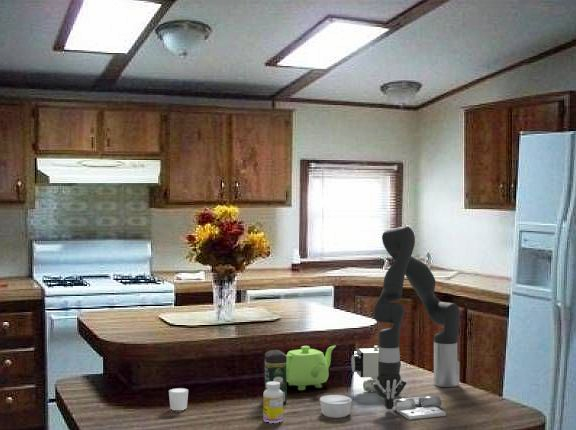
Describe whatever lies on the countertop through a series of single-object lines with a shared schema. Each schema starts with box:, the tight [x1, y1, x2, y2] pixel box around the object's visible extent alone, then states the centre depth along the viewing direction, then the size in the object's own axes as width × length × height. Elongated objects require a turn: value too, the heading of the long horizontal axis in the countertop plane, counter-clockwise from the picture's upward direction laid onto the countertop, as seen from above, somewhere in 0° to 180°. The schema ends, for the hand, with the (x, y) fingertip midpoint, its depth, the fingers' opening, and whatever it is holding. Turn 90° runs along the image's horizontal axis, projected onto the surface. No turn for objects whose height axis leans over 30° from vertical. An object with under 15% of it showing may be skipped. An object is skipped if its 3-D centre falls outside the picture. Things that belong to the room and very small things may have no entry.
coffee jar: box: [264, 349, 288, 404], centre depth 261 cm, size 10×8×19 cm
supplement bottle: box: [262, 381, 284, 424], centre depth 237 cm, size 7×7×13 cm
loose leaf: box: [392, 397, 447, 420], centre depth 246 cm, size 14×12×4 cm
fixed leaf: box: [394, 395, 442, 408], centre depth 255 cm, size 15×12×4 cm
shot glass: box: [168, 387, 189, 410], centre depth 250 cm, size 7×7×7 cm
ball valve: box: [351, 345, 402, 393], centre depth 275 cm, size 18×8×18 cm, turn 97°
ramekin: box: [319, 394, 353, 419], centre depth 245 cm, size 11×11×5 cm
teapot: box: [285, 345, 337, 391], centre depth 282 cm, size 25×22×16 cm
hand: (388, 408), depth 247 cm, fingers closed
